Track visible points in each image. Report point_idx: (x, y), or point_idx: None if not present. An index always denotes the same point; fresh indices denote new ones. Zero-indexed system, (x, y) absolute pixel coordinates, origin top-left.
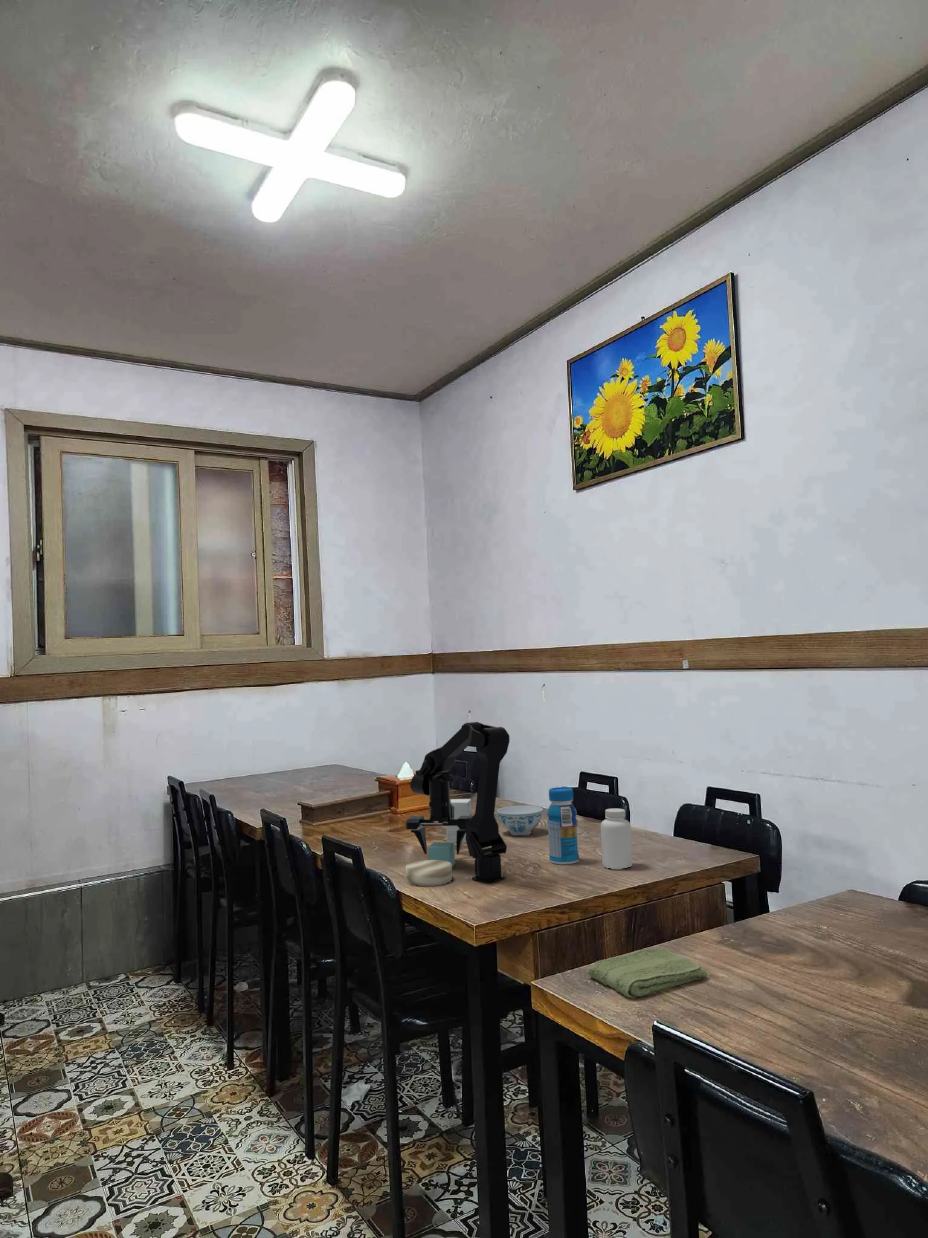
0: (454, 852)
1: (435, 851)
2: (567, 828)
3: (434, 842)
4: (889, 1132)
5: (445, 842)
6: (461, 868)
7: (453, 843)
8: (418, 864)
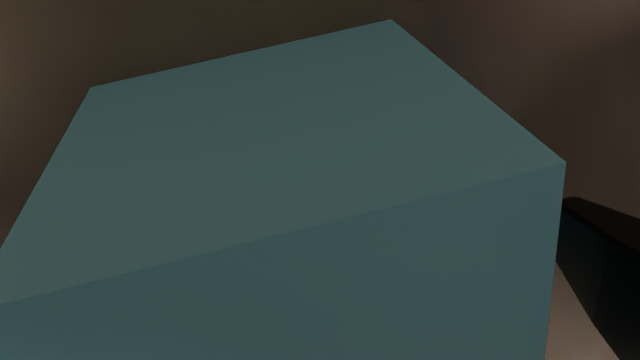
0: (456, 79)
1: None
2: None
3: (2, 316)
4: None
5: (328, 230)
6: None
7: (555, 227)
8: None
